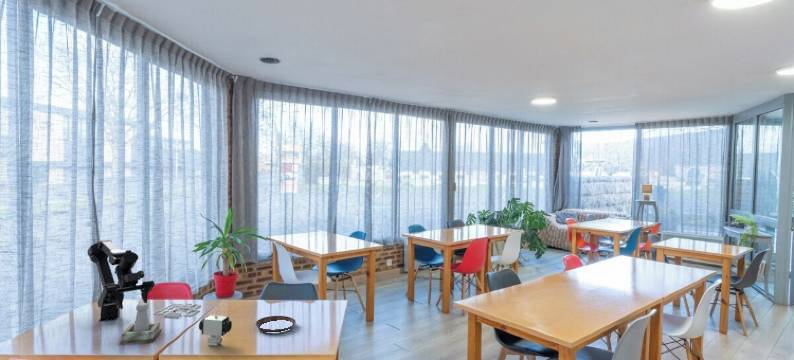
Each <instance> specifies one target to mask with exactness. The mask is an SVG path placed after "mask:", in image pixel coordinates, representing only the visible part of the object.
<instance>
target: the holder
mask: <svg viewBox="0 0 794 360" xmlns="http://www.w3.org/2000/svg"><path fill="white" fill-rule="evenodd" d="M134 324H135V323H130V324H129V325H128V326H127V327H126V328H125V330H123V332H122V333H121V337H120V338H121V339H120V341H119V343H118V345H128V344H142V343H144V344H145V343H154V342H155V341H156V339H157V338H158V336H159V335H160V333H161V331H162V328H160V322H149V331H136V332H133V329H134Z"/></svg>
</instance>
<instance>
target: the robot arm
mask: <svg viewBox="0 0 794 360" xmlns="http://www.w3.org/2000/svg"><path fill="white" fill-rule="evenodd" d="M87 257H88V258H89V260H90V261H91V262H93V263H94V264H95V265H96V267H97V272H98V274H99V279H100V282H101V285H102V290H101V293H100V296H99V298H98V299H97V306H98V307H99V308H100V318H99V319H98V321H99V322H103V321H104V322H105V321H116V320H117V319H118V318H119V317H120V316H121V315H120V314H121V310H123V309H124V305H123V302H124V298H125V293H128V292H134V291H139V290H140V296H141V298H142V301H143V303H147V304H148V295H149V293H150V292H152V290H153V289H154V287H155V285H156V284H155V283H156V282H155V281H154V280H152V279H150V280H144V281H143V282H142V283H141V284H139V280H141V279H144V277H145V271H144V270H143V269H142V270H138V271H137V272H133V271H132V270H133V268H134V267H135V265H136V263H137V262H138V260H139V255H138V254H137V253H135V252H134V251H132V249H128V250H125V249H120V248H118V247H117V245H116V244H114V243H113V241H112V240H111V239H104V240H103V239H102V240H101V239H100V240H98V241H97V242H96V243H94V244H91V245H90V247H89V248H88V249H87ZM111 266H115V269H114V274H116V278H117V283H115V279H114V276H113V272H112V269H111Z"/></svg>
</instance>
